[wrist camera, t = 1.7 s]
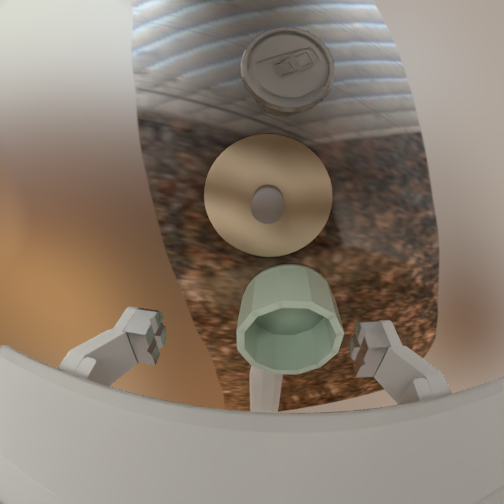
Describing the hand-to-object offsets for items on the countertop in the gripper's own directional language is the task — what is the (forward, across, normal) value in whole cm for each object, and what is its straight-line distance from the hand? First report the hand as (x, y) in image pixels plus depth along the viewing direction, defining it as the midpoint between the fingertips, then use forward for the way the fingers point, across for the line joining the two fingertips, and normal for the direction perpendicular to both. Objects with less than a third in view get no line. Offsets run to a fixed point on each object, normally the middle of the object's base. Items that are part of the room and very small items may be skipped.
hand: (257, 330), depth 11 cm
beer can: (+19, -1, -11) cm, 22 cm away
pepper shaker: (+19, -1, +27) cm, 33 cm away
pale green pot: (+19, -3, +13) cm, 23 cm away
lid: (+19, 0, 0) cm, 19 cm away
